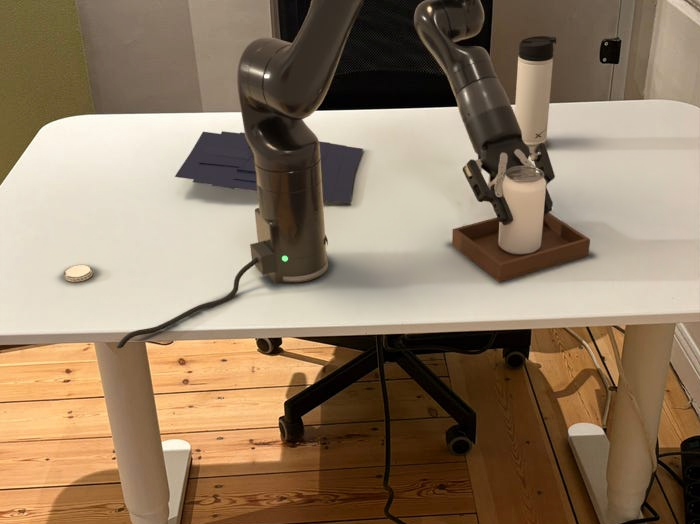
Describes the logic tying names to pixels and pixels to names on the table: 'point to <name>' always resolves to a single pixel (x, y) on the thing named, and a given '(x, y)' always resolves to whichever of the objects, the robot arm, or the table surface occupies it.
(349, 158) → the papers
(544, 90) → the travel mug
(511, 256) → the tray
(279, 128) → the robot arm
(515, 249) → the can
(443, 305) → the table surface
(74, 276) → the cream ridged disc
